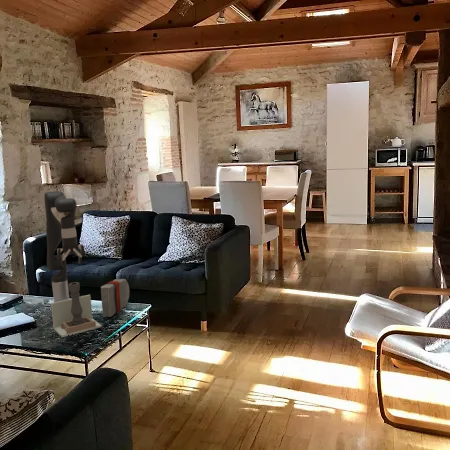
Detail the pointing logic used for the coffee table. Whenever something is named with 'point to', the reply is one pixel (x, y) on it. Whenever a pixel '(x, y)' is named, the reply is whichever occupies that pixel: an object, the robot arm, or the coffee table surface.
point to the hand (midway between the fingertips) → (72, 265)
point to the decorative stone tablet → (114, 297)
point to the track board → (64, 317)
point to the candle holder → (76, 304)
